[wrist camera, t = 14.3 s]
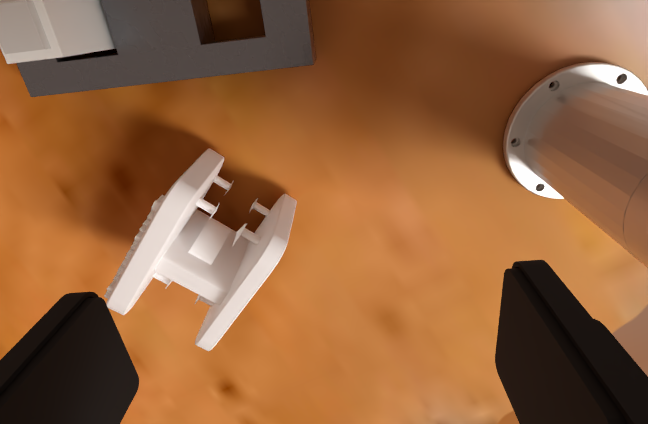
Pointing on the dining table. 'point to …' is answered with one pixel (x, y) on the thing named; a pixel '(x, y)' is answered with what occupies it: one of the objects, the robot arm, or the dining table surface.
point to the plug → (52, 29)
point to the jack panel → (176, 47)
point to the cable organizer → (202, 250)
